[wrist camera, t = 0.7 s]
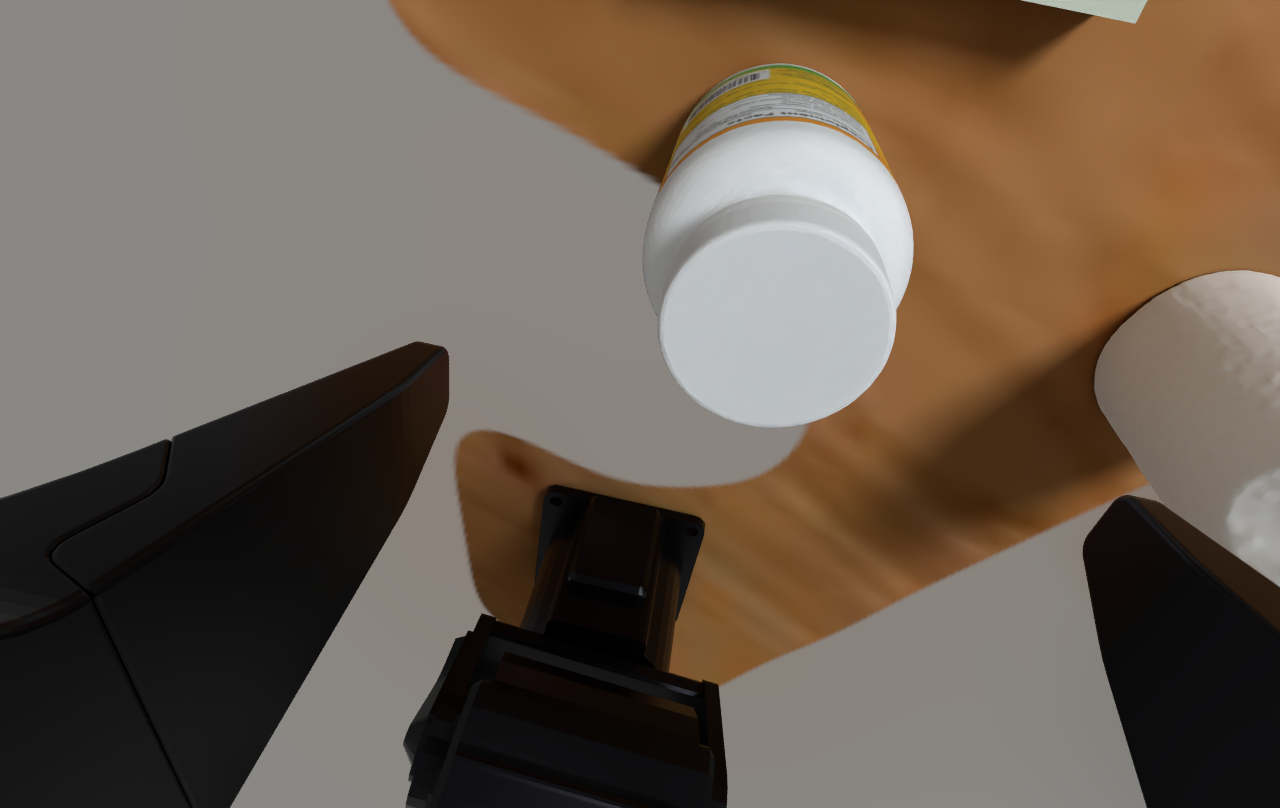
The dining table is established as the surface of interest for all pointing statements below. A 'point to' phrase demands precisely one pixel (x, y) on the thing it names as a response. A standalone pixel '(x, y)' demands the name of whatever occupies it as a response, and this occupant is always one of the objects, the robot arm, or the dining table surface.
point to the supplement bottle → (777, 250)
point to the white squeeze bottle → (1205, 406)
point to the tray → (1101, 7)
